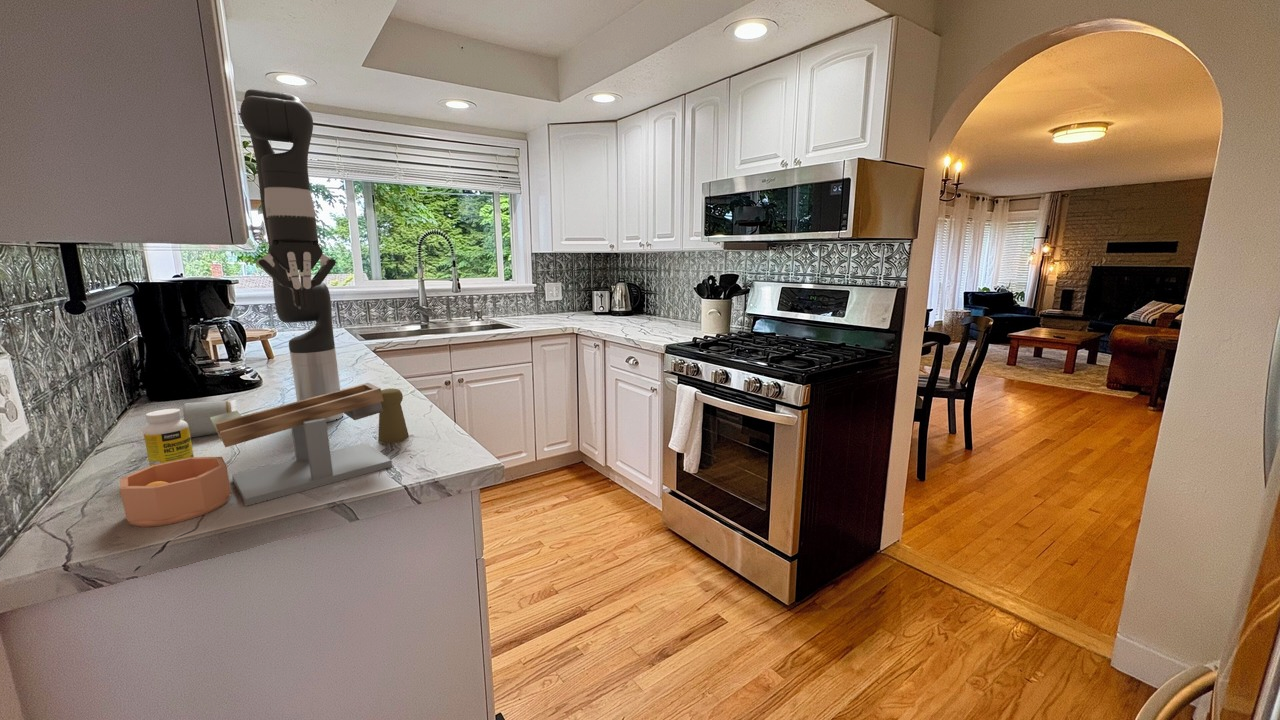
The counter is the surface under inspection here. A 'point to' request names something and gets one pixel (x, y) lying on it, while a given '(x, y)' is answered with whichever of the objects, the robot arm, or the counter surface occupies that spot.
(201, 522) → the counter surface
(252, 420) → the chute
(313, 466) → the chute stand
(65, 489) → the counter surface
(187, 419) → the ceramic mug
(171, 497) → the orange octagonal bowl
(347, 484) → the counter surface
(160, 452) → the pill bottle
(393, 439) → the olive green pawn
